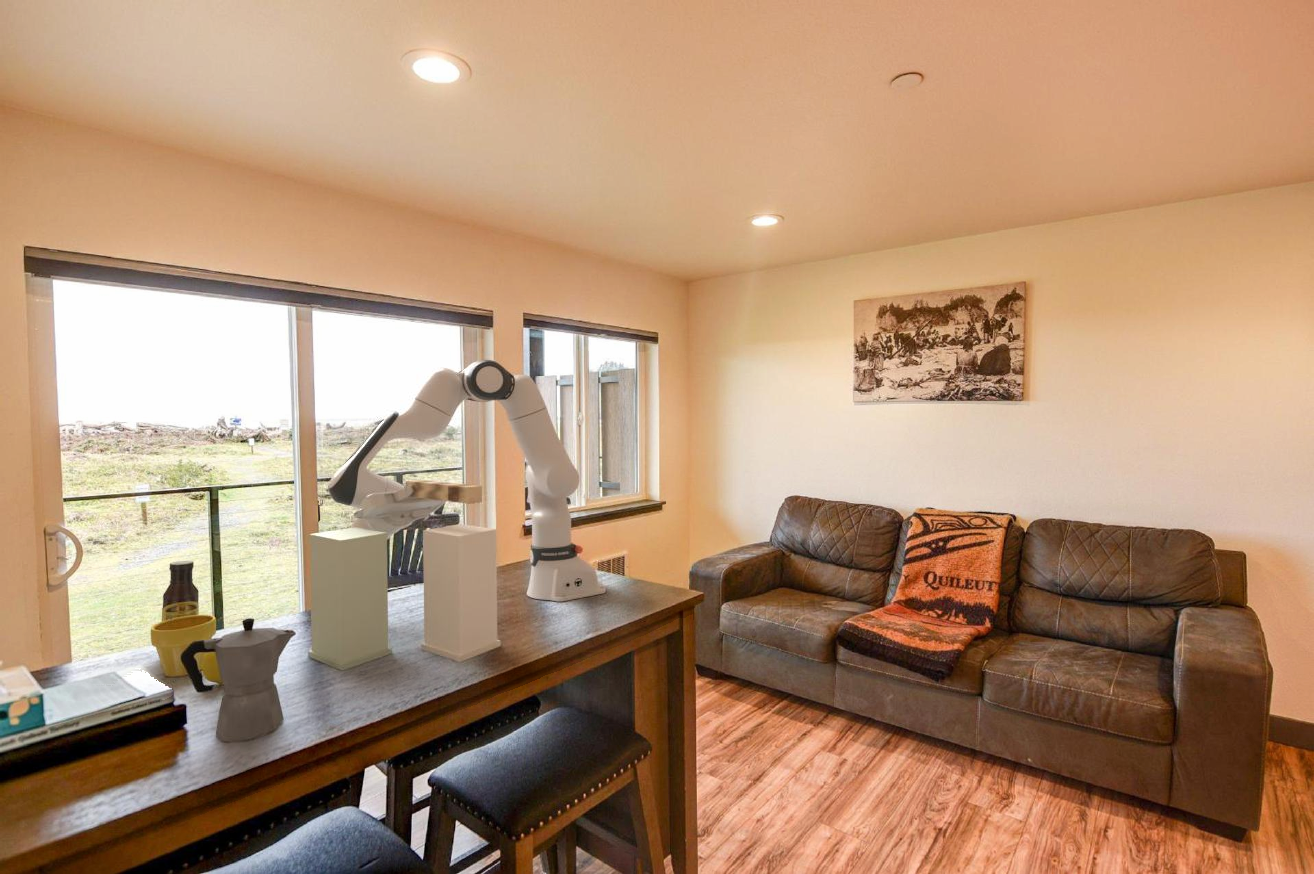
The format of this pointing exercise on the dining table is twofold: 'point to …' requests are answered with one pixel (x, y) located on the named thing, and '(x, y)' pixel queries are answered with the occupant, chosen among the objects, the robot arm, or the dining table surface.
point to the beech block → (446, 491)
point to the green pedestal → (349, 597)
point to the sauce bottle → (180, 592)
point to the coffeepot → (243, 679)
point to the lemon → (211, 668)
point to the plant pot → (181, 640)
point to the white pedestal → (460, 591)
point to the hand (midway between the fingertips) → (422, 487)
